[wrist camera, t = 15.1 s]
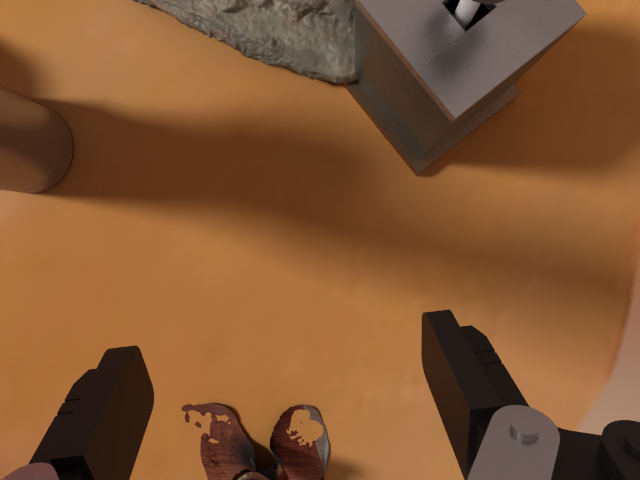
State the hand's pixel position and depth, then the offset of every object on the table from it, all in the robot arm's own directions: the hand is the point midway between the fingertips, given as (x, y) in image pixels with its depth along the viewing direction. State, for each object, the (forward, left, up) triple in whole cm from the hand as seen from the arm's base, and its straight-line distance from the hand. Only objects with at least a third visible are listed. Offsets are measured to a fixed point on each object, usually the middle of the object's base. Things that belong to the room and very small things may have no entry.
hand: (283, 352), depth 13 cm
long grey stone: (-29, +8, -33) cm, 45 cm away
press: (-8, +18, -33) cm, 38 cm away
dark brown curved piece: (+9, -17, -33) cm, 38 cm away
